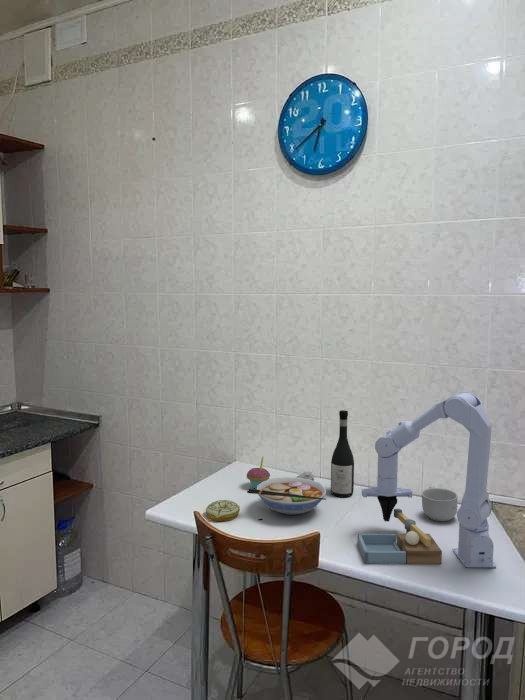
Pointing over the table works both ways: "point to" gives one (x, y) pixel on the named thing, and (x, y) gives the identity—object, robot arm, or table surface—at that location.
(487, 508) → the robot arm
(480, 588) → the table surface
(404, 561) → the shallow square tray
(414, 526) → the lever
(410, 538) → the ball
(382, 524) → the table surface
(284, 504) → the ramen bowl
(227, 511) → the decorated donut
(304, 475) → the frog figurine
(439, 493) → the teacup
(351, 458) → the wine bottle
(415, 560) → the block
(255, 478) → the cupcake
